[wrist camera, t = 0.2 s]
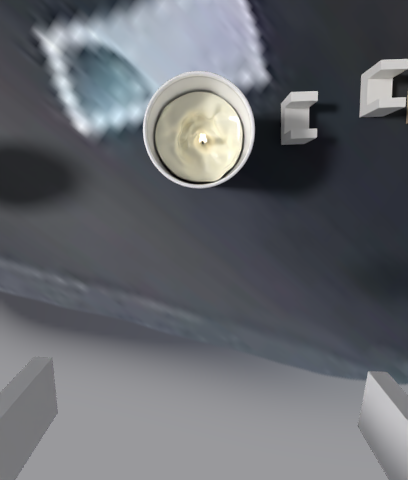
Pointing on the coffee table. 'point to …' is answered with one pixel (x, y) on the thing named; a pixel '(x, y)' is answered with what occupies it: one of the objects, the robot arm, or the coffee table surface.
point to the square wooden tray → (407, 113)
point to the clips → (371, 101)
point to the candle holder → (199, 129)
